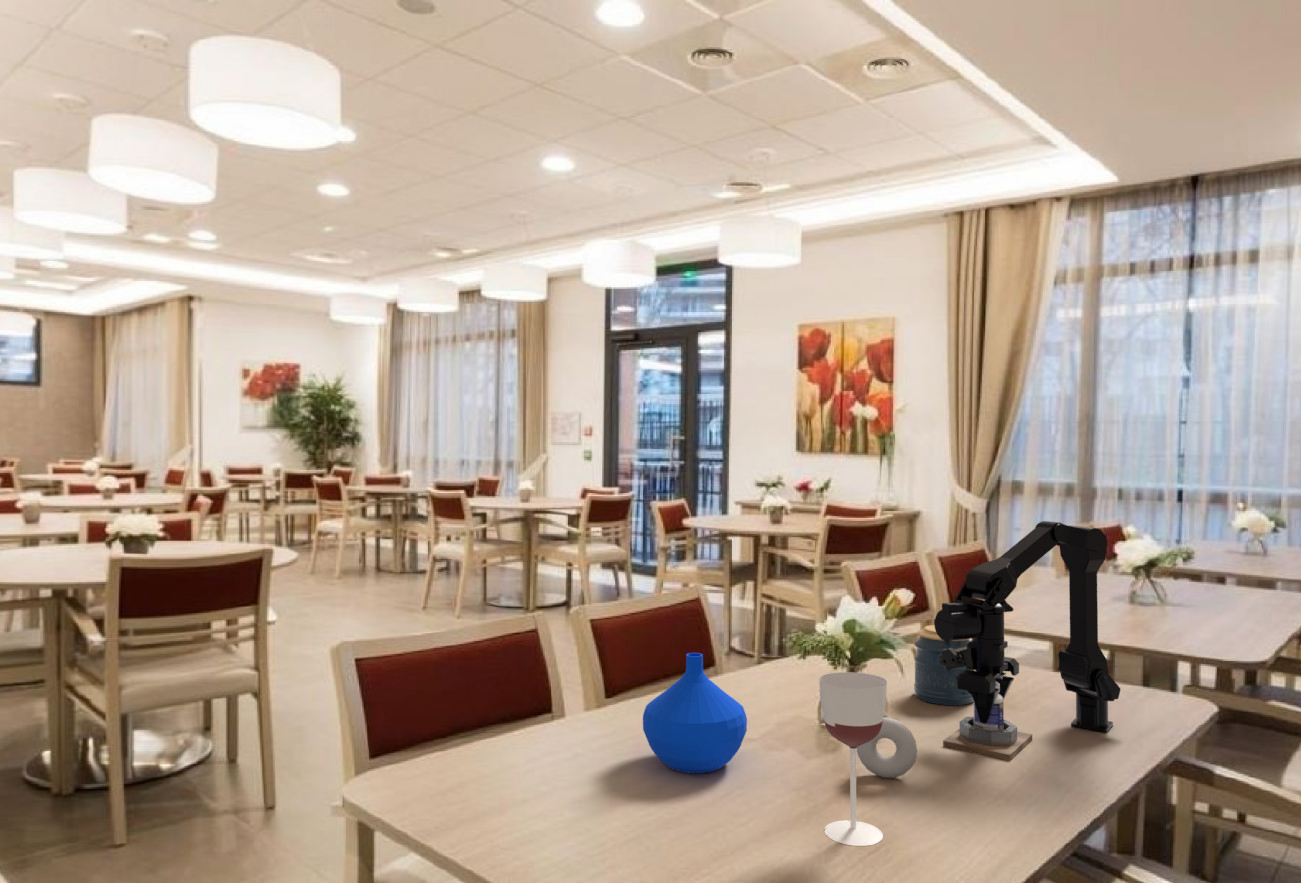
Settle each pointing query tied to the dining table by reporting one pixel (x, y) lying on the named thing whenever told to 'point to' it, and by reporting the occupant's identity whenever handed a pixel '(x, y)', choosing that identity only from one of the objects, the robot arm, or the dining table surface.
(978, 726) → the pill bottle
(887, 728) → the donut
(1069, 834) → the dining table surface
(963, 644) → the canister
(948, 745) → the tan board
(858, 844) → the wineglass
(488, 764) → the dining table surface
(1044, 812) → the dining table surface
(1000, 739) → the ring collar
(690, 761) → the vase
